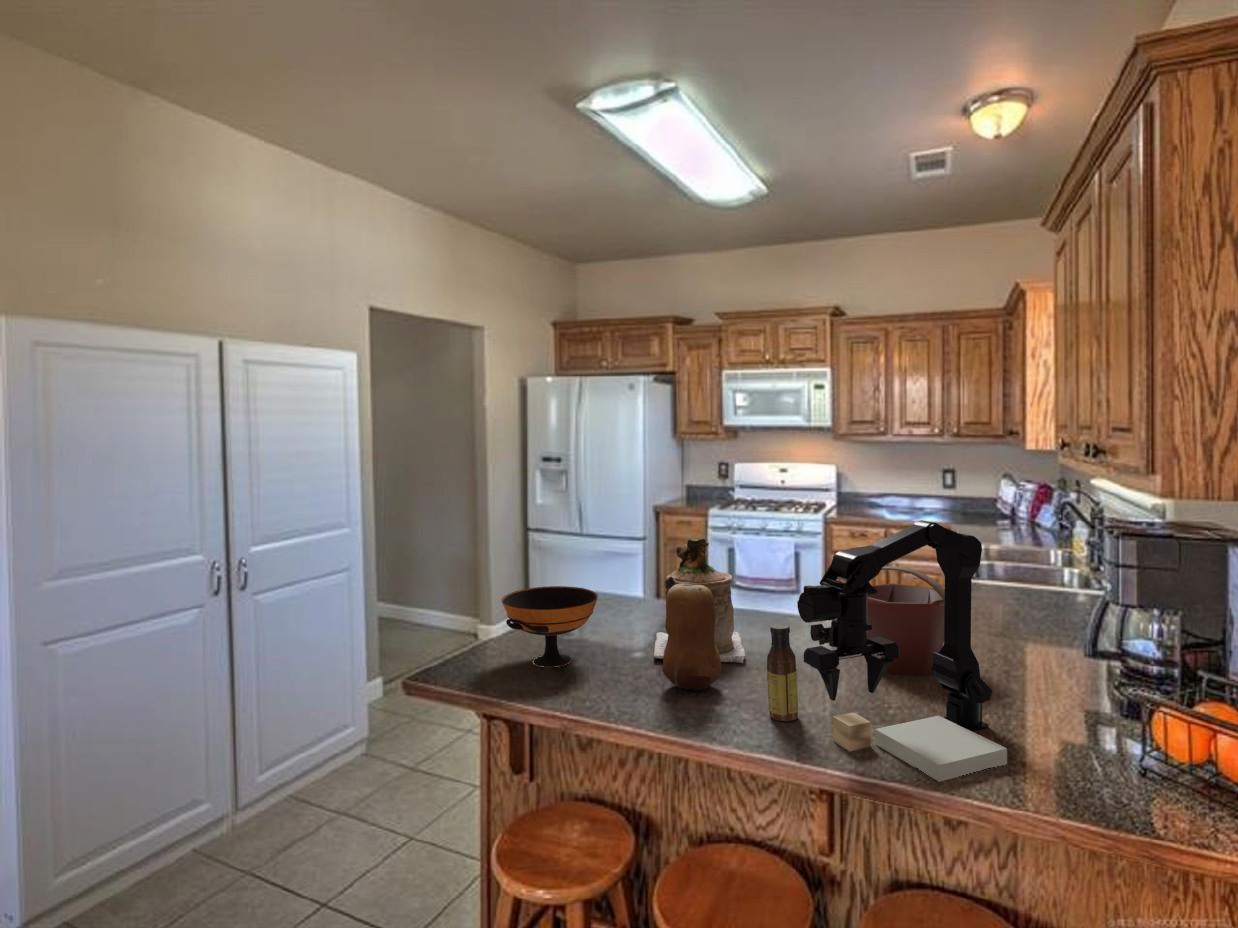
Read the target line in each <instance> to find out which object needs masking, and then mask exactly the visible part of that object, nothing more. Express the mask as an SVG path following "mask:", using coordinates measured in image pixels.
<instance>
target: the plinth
mask: <svg viewBox="0 0 1238 928" xmlns="http://www.w3.org/2000/svg"><path fill="white" fill-rule="evenodd" d="M943 717H944V716H943ZM943 717H942V716H940V715H935V716H930V717H926V718H921V719H916V720H912V721H907V722H902V723H898V724H893V725H887V726H883V727H878V728H875V729H874V744H875V745H876V746H877V747H879V748H881V749H882V750H884V751H886V752H888V753H889V754H890V755H893V756H894V757H896V758H898V759H899V760H902V761H903V762H905V763H907V764H908V765H910V766H911V767H913V768H915V767H916V768H918V769H919V770H918V769H917V770H918V771H920V770H921V771H922V773H923V772H924V773H923V774H925V773H926V774H925V775H927V776H928V777H930V778H932V779H933V780H935V781H937V782H938V783H940V782H944V781H948V780H952V779H955V778H960V777H963V776H962V775H964V776H967V775H966V774H968V775H970V774H969V773H972V774H974V773H973V772H976V771H980V770H983V769H986V768H990V767H995V768H998V767H997V766H999V767H1002V765H1003V766H1007V765H1008V748H1007V747H1004V746H1002V745H1001V744H999V743H997V742H994V741H993V740H990V739H989V738H986V737H984V736H982V735H980V734H977V733H976V732H974V731H970V730H968V729H966V728H963V727H961V726H959V725H957V724H955V723H953V722H951V721H949V720H947V719H945V718H943ZM1006 764H1007V765H1006ZM916 768H915V769H916ZM921 771H920V772H921ZM980 772H981V771H980ZM976 773H977V772H976ZM959 776H960V777H959Z"/></svg>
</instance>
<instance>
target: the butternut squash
mask: <svg viewBox="0 0 1238 928" xmlns="http://www.w3.org/2000/svg"><path fill="white" fill-rule="evenodd" d="M664 621H665V626H664V627H665V631H666V632H665V633H667V634H668V641H667V644H666V647H665V650H664V657H663V659H662V661H663V662H662V664H663V666H662V673H663V675H664V676H665V677H666V678H667V680H669V681H670V683H671V684H672V685H674V686H676V687H678V688H681V689H686V690H687V689H688V690H690V691H694V692H696V691H704V689H705V690H706V688H707V687H709V686H711V685H712V684H713V683H715V681H717V679H718V678H719V677H720V675H721V673H722V662H721V658H720V654H719V652H718V649H717V646H716V644H715V641H714V630H715V608H714V599H713V595H712V593H711V591H710V590H709V589H708V588H707V587H705V586H703V585H690V584H683V583H682V584H676V585H674V586H672V587H671V588H670V589H669V591H668V593H667V596H666V595H665V620H664Z"/></svg>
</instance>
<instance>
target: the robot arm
mask: <svg viewBox="0 0 1238 928" xmlns="http://www.w3.org/2000/svg"><path fill="white" fill-rule="evenodd" d="M982 545H983V543H982V542H981V541H980V540H979V539H978V538H977V537H976V536H974V535H971V534H966V533H959V532H956V531H954V530H952V529H949V528H946V527H944V526H942V525H941V524H939V523H938V522H933V521H928V520H923V519H922V520H917V521H916V522H914V523H913V524H911V525H910V526H908V527H906V528H903V529H901V530H899V531H897V532H895V533H893V534H891V535H889V536H886V537H884V538H882V539H880V540H879V541H876V542H874V543H872V544H870V545H866V546H857V547H850V548H847V549H843V550H840V551H837V552H836V553H834V555H833V556H832V560H831V562H830V565H829V567H828V568H827V570H826V571H825V573H824V575H823V576H822V578H821V579H820V581H819V585H804V586H803V591H802V592H801V593H800V595H799V597H798V600H797V602H796V603H797V611H798V614H799V616H800V618H801V620H802V621H803V622H804V623H807V624H808V623H817V624H811V625H810V630H809V631H810V632H809V633H810V637H811V640H812V641H813V642H818V643H819V646H811V647H807V648H806V649H805V650H804V652H803V663H804V664H807V665H809V666H810V667H812V668H814V669H816V670H817V671H818V673H819V674H820V676H821V679H822V680H823V683H824V686H825V688H826V691H827V694H828V697H829V699H830V700H831V701H833V702H834V701H836V698H837V695H838V688H839V680H840V675H841V674H840V673H841V669H839V668H837V667H839V665H840V660H847V659H852V658H858V657H864V660H865V661H866V662H865V663H866V667H867V669H866V671H867V678H866V679H867V690H868V692H869V693H870V694H874V693H875V692H876V690H877V687H878V686H879V685H880V682H881V680H882V678H883V676H884V675H885V673H886V670H887V669H888V667H889V666H890V664H891V663H893V662H894V658H899V647H898V645H897V644H896V642H893V641H891V640H888V639H885V638H883V637H874V638H867V630H872V624H869V623H867V594H876V593H877V592H878V591H877V590H876V589H875V588H874V587H873V586H872V585H873V584H871V583H870V581H871V580H873V579H874V578H876V577H877V576H879V574H880V573H881V571H882V570H881V569H882V568H883V567H884V566H888V564H891V563H892V562H895V561H897V560H899V559H901V558H903V557H905V556H907V555H910V554H911V553H914V552H915V551H917V550H919V549H921V548H924V547H925V546H928V547H930V548H932V549H933V550H935V554H936V561H937V564H938V565H939V567H940V570H941V572H942V573H943V575H944V589H945V604H944V643H943V647H942V648H941V650H940V651H939V652H934V653H933V668H932V672H933V673H934V678H935V679H936V680H937V681H938V682H939V686H940V688H941V690H944V691H946V692H947V695H946V696H947V699H946V700H947V701H946V706H945V707H946V709H945V712H946V713H945V714H946V715H945V716H943V718H945V719H947V720H949V721H951V722H953V723H955V724H957V725H959V726H961V727H963V728H966V729H968V730H970V731H972V732H974V731H978V730H981V729H986V728H989V723H987V722H984V721H983V704H985V702H987V701H988V702H989V701H991V697H992V694H993V690H992V689H991V688H990V687H989V686H988V684H987V683H985V681H984V680H983V679H982V678H981V670H980V663H979V660H978V658H977V657H976V655H975V653H974V651H973V649H972V579H973V577H974V575H975V574H976V572H977V571H978V570H979V568H980V566H981V561H982V560H981V559H982V553H983V546H982ZM840 580H841V581H840ZM842 581H844V582H842ZM825 621H830V622H831V623H830V624H831V625H830V627H824V625H823V623H818V622H825ZM825 644H828V646H829V647H831V648H836V649H834V650H833V649H832V650H831V649H829V648H828V647H825V646H823V645H825Z"/></svg>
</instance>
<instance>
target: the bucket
mask: <svg viewBox="0 0 1238 928" xmlns="http://www.w3.org/2000/svg"><path fill="white" fill-rule="evenodd" d="M886 570H887V571H898V572H903V573H907V574H911V575H912V576H915V577H917V578H918V579H920V580H922V581H923V582H925V583H926V584H927V585H929V586H931V587H928V586H927V587H924V586H917V585H911V584H910V585H908V584H901V583H884V584H882V583H881V584H871V585H872V586H873V587H874V588H875V589H876V590H877V591H878V592H877V593H876V594H867V623H869V624H872V630H867V638H874V637H883V638H885V639H888V640H891V641H893V642H896V644H897V645H898V647H899V658H894V662H893V663H891V664H890V666H889V667H888V669H887V670H886V672H885V673H887V674H889V675H892V676H893V675H894V676H896V675H897V676H914V677H915V676H918V677H924V676H926V675H928V674H929V673H932V672H933V671H932V668H933V653H934V652H939V651H940V650H941V648H942V647H943V645H944V604H945V587H944V586H943V585H942V584H941V583H939V582H938V581H936V580H935V579H934V578H932V577H930V576H929V575H927V574H926V573H923V572H921V571H920V570H917V569H912V568H909V567H903V566H898V565H897V566H895V565H894V566H893V565H891V566H889V565H885V566H884V567H883V568H882V569H881V571H886Z"/></svg>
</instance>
